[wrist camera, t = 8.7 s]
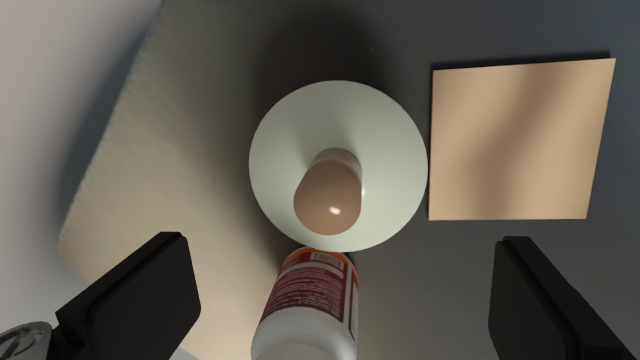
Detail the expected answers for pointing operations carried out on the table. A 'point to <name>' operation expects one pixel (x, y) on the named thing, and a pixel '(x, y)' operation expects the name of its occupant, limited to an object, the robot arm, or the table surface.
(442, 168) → the mat
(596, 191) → the table surface
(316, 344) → the pill bottle
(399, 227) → the lid
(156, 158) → the table surface
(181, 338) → the robot arm
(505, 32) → the table surface
